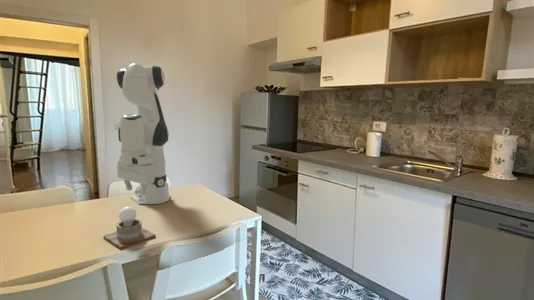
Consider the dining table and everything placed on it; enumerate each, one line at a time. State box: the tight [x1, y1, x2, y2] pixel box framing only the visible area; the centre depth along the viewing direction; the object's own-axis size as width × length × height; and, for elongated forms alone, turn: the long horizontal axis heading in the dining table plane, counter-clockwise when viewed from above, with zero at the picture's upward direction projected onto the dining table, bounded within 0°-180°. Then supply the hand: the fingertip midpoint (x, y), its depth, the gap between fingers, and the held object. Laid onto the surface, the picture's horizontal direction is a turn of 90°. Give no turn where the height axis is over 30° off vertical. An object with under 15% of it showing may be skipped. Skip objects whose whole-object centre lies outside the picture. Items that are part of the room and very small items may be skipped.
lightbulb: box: [118, 206, 137, 227], centre depth 119 cm, size 6×6×11 cm
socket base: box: [103, 218, 157, 250], centre depth 119 cm, size 14×14×6 cm
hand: (135, 192), depth 117 cm, fingers open, 8 cm apart
